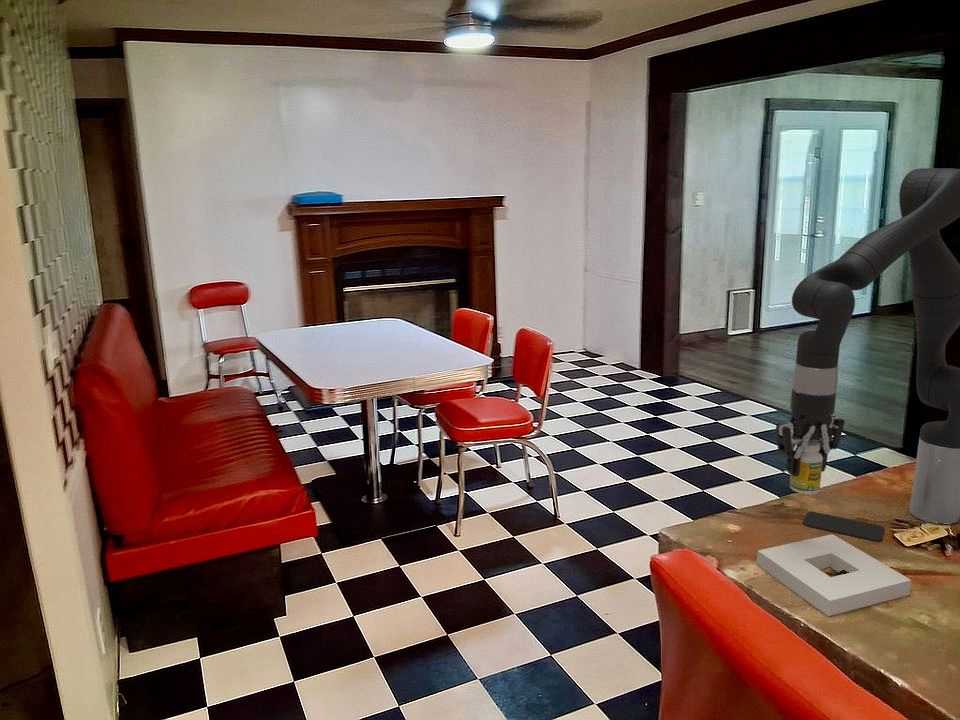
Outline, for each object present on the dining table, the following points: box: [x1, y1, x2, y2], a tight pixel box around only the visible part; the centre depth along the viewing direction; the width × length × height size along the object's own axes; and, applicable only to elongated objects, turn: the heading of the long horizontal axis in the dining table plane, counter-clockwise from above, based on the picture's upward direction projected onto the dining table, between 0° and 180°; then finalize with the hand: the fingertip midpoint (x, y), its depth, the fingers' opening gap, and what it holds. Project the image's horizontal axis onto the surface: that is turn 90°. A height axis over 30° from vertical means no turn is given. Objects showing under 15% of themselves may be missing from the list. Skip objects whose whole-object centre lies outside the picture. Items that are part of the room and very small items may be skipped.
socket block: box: [756, 533, 912, 617], centre depth 133 cm, size 18×18×3 cm
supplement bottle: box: [789, 439, 823, 495], centre depth 138 cm, size 5×5×10 cm
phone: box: [802, 511, 885, 543], centre depth 153 cm, size 7×1×15 cm
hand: (805, 472), depth 138 cm, fingers closed on supplement bottle, 5 cm apart
